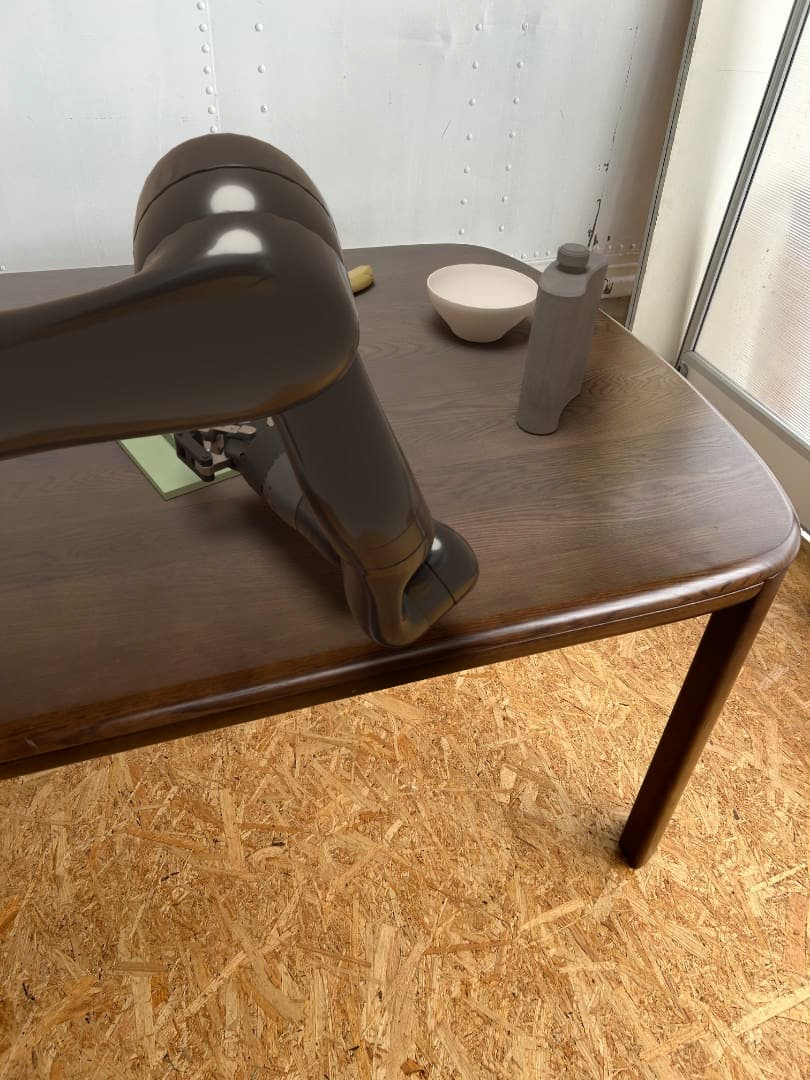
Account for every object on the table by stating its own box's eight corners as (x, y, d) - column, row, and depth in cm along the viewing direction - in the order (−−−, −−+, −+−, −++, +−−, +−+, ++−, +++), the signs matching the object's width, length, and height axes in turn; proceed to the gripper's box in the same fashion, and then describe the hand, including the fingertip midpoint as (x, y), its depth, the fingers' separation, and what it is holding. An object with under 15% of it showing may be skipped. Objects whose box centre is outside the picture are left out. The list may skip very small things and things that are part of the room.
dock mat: (165, 500, 81) (150, 416, 74) (94, 414, 93) (76, 335, 86) (299, 453, 89) (296, 374, 82) (218, 379, 100) (209, 305, 94)
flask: (543, 375, 106) (570, 224, 93) (584, 386, 104) (618, 233, 91) (504, 426, 95) (530, 263, 82) (550, 439, 94) (583, 275, 81)
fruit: (385, 295, 124) (386, 275, 121) (293, 306, 118) (292, 285, 116) (368, 278, 128) (369, 258, 126) (279, 288, 123) (278, 268, 121)
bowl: (474, 367, 107) (480, 318, 102) (401, 323, 116) (403, 277, 111) (554, 338, 115) (563, 292, 110) (480, 300, 124) (485, 256, 120)
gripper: (367, 422, 72) (278, 352, 82) (227, 471, 65) (147, 388, 75) (366, 488, 77) (281, 415, 87) (235, 540, 70) (159, 454, 80)
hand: (219, 403), depth 81 cm, fingers open, 8 cm apart
